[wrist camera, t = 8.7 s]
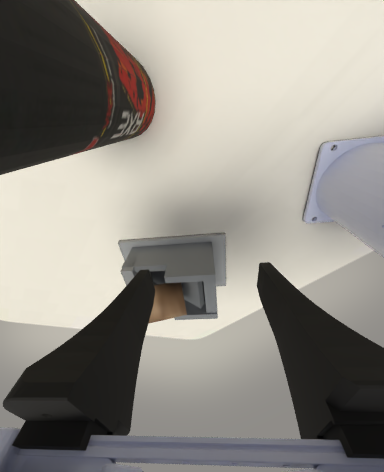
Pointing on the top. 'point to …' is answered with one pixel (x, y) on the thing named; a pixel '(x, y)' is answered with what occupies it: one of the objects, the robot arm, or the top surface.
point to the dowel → (168, 302)
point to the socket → (181, 267)
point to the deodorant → (64, 84)
